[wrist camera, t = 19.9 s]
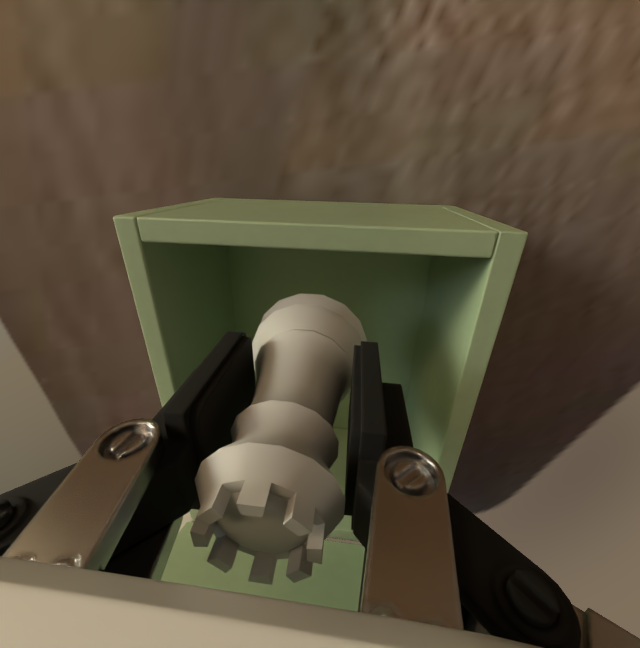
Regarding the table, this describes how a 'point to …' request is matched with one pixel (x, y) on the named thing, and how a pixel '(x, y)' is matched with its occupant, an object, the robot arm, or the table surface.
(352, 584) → the lid
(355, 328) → the rook chess piece
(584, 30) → the table surface
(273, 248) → the chest
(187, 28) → the table surface
